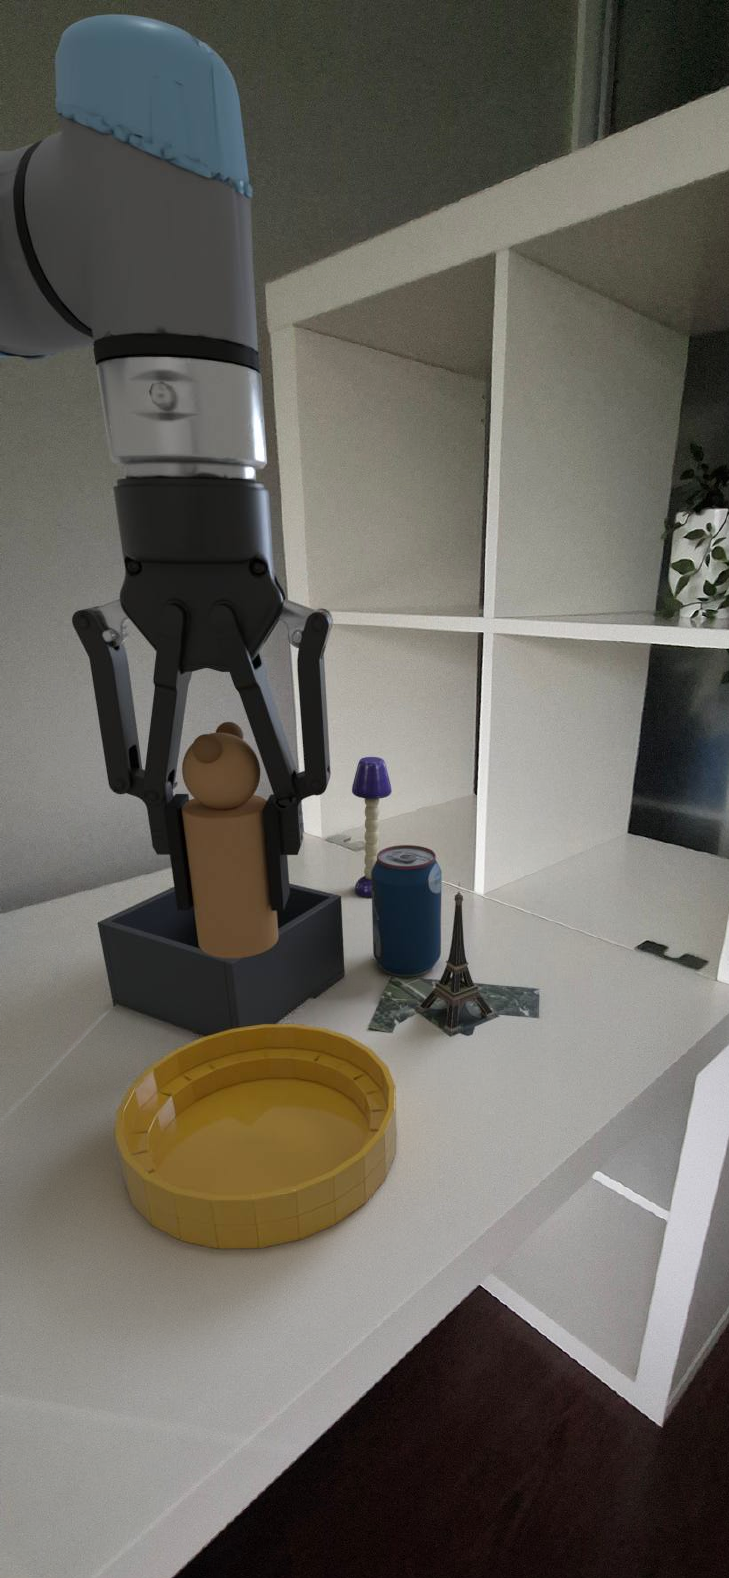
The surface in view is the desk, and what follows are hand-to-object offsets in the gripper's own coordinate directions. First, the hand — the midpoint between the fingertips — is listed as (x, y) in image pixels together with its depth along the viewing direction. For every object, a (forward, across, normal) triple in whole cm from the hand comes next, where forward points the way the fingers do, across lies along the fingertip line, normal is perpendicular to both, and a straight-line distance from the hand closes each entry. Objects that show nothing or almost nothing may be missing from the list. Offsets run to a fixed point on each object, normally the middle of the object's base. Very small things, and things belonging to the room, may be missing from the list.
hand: (234, 900), depth 50 cm
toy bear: (+3, 0, 0) cm, 3 cm away
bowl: (+19, 0, -1) cm, 19 cm away
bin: (+20, -6, +22) cm, 30 cm away
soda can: (+20, +11, +27) cm, 35 cm away
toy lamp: (+20, +6, +46) cm, 50 cm away
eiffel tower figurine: (+20, +15, +17) cm, 30 cm away
